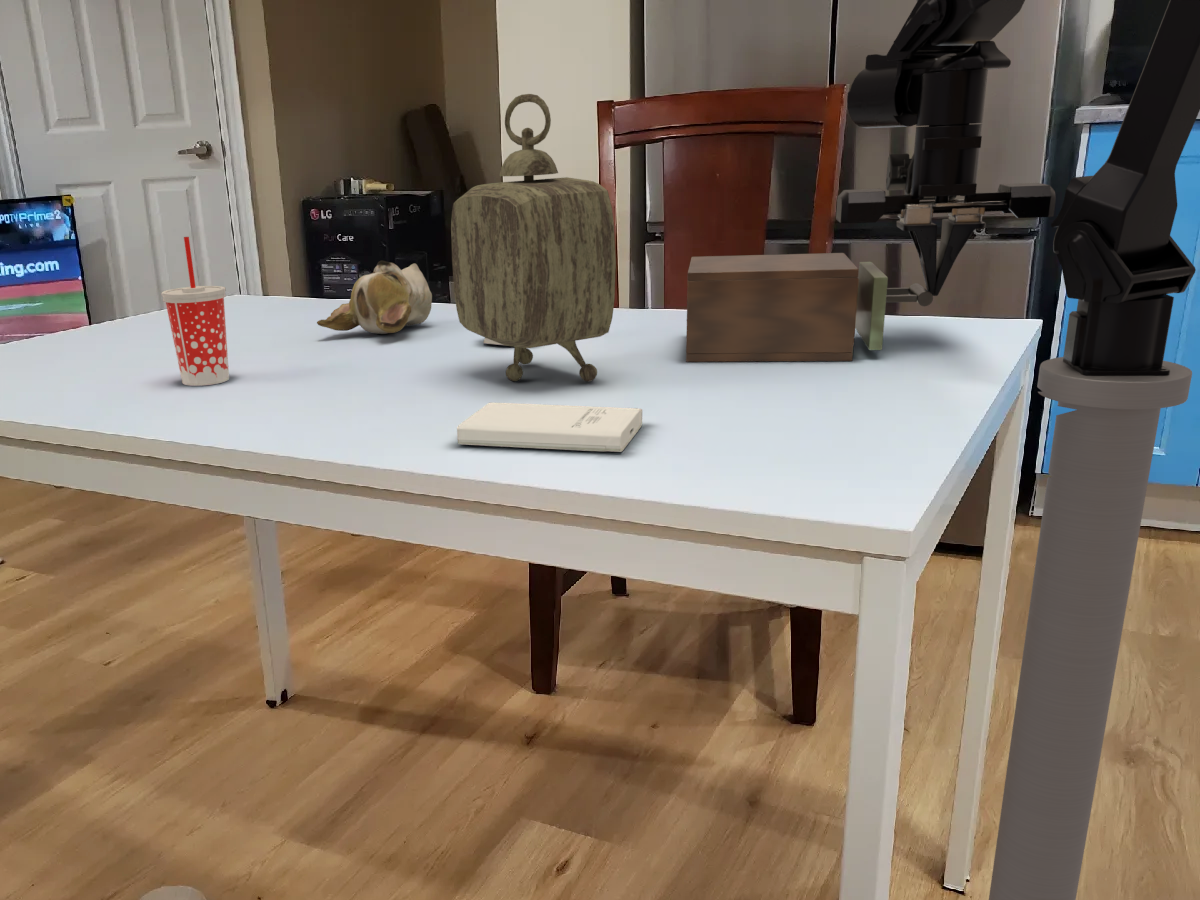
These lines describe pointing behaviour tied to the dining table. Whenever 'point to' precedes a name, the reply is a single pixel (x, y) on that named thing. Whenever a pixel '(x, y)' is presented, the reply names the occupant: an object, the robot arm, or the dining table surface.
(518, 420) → the hard drive
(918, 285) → the drawer
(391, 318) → the ceramic sculpture
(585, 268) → the tabletop clock
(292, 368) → the dining table surface
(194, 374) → the beverage cup
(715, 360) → the cabinet
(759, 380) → the dining table surface
